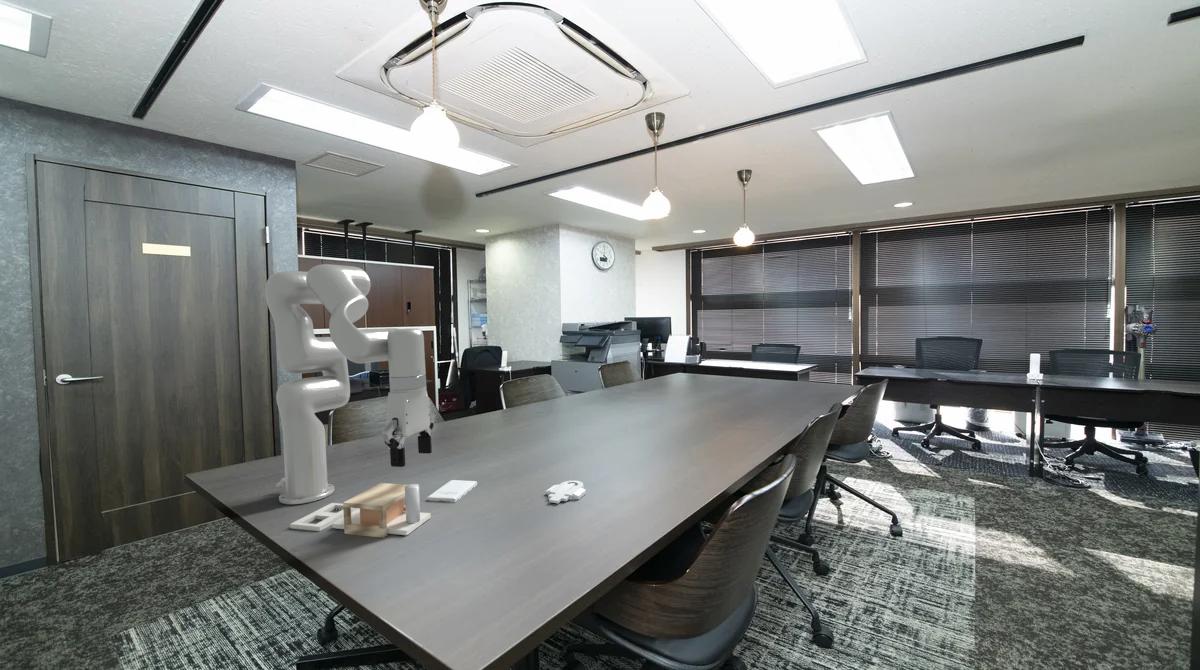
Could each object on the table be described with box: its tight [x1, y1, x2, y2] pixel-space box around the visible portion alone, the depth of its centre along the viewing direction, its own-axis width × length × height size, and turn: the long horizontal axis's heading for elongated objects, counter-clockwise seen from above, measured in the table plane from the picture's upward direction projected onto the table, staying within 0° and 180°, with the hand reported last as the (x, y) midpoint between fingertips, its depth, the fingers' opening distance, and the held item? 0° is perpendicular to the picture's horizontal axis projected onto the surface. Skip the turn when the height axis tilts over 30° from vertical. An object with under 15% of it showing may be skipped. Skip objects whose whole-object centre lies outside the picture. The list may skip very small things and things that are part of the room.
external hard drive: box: [426, 479, 478, 503], centre depth 125 cm, size 2×8×12 cm
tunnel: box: [342, 482, 408, 539], centre depth 106 cm, size 10×12×7 cm
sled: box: [332, 483, 432, 536], centre depth 106 cm, size 19×9×9 cm, turn 77°
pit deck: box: [289, 502, 359, 532], centre depth 110 cm, size 8×12×1 cm, turn 167°
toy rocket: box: [545, 479, 587, 504], centre depth 122 cm, size 16×10×2 cm, turn 157°
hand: (412, 459), depth 104 cm, fingers open, 9 cm apart
